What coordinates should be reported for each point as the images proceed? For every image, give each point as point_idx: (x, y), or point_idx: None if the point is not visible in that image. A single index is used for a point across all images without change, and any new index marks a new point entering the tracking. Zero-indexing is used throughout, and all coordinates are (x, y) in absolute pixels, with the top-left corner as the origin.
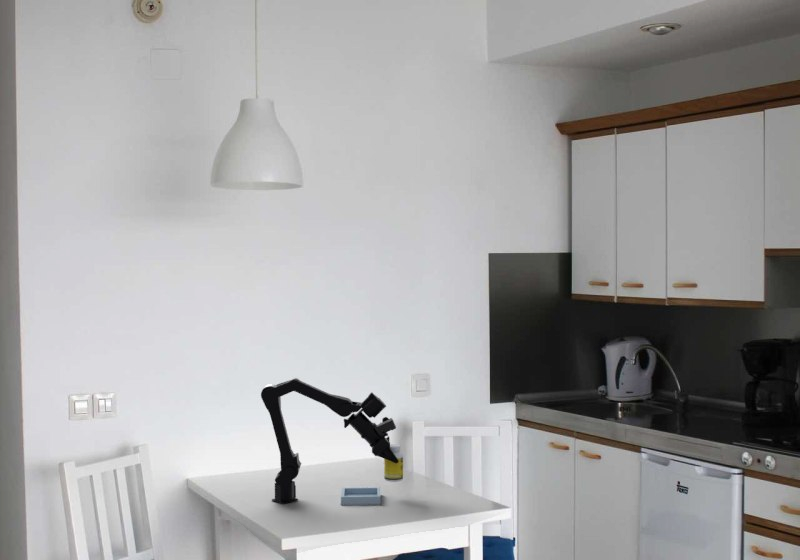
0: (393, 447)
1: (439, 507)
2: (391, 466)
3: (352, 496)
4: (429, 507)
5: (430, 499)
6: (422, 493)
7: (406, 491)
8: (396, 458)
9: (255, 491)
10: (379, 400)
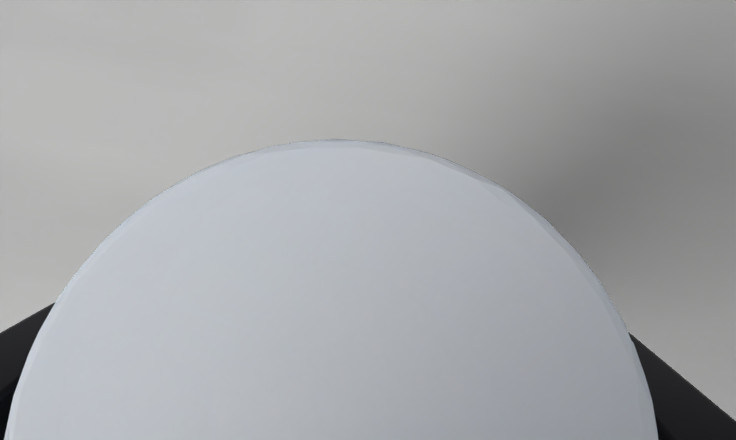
0: None
1: (658, 40)
2: None
3: None
4: (655, 111)
5: (403, 69)
6: (191, 103)
7: (89, 225)
8: (651, 359)
9: None
10: None
